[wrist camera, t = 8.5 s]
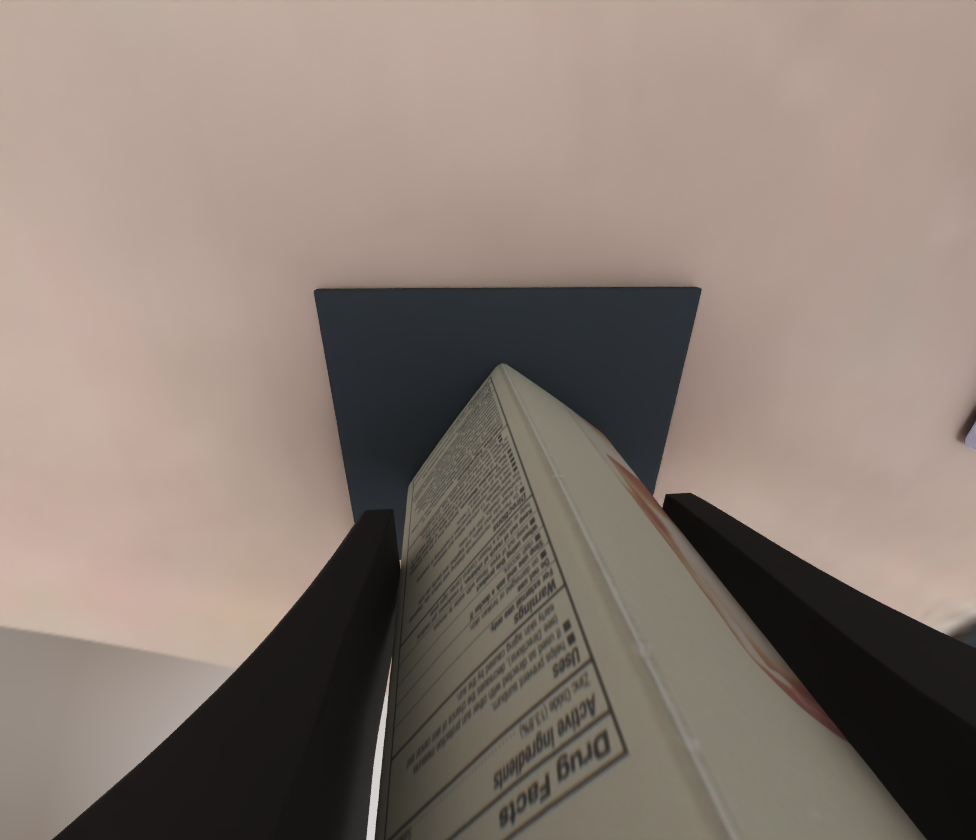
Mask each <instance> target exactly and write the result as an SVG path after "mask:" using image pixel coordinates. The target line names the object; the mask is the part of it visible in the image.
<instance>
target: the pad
mask: <svg viewBox="0 0 976 840" xmlns="http://www.w3.org/2000/svg"><path fill="white" fill-rule="evenodd" d="M701 290H702V289H701V288H698V287H576V288H389V289H316V290H315V291H314V296H315V301H316V307H317V313H318V318H319V324H320V330H321V335H322V341H323V347H324V352H325V358H326V364H327V369H328V375H329V381H330V386H331V392H332V398H333V403H334V409H335V415H336V420H337V426H338V432H339V437H340V443H341V449H342V454H343V460H344V466H345V471H346V477H347V483H348V488H349V494H350V500H351V506H352V511H353V517H354V523H356V521H357V520H358V518H359V517H360V515H361V514H362V513H363V512H364V511H365V510H380V509H393V511H394V519H395V528H396V536H397V544H398V553H399V560H401V559H402V547H403V537H404V526H405V517H406V506H407V494H408V487H409V485H410V483H411V482H412V480H413V479H414V477H415V476H416V474H417V473H418V471H419V470H420V468H421V467H422V465H423V464H424V463H425V461H426V460H427V458H428V457H429V455H430V454H431V453H432V451H433V450H434V449H435V447H436V446H437V444H438V443H439V441H440V440H441V439H442V437H443V436H444V435H445V433H446V432H447V430H448V429H449V428H450V426H451V425H452V424H453V422H454V421H455V420H456V418H457V417H458V416H459V414H460V413H461V412H462V410H463V409H464V408H465V406H466V405H467V404H468V402H469V401H470V400H471V398H472V397H473V396H474V394H475V393H476V392H477V391H478V389H479V388H480V387H481V385H482V384H483V383H484V382H485V380H486V379H487V378H488V376H489V375H490V374H491V372H492V371H493V370H494V369H495V367H497V366H498V365H499V364H502V363H504V364H507V365H508V366H510V367H511V368H513V369H514V370H516V371H517V372H519V373H520V374H522V375H523V376H525V377H526V378H527V379H529V380H530V381H532V382H533V383H535V384H536V385H538V386H539V387H540V388H542V389H543V390H545V391H546V392H548V393H549V394H550V395H552V396H553V397H555V398H556V399H557V400H559V401H560V402H562V403H563V404H564V405H566V406H567V407H569V408H570V409H571V410H573V411H574V412H575V413H577V414H578V415H579V416H581V417H582V418H583V419H585V420H586V421H587V422H589V423H590V424H591V425H593V426H594V427H595V428H597V429H598V430H599V431H600V432H602V433H603V434H604V435H605V437H606V438H607V439H608V440H609V442H610V443H611V444H612V445H613V447H614V448H615V449H616V451H617V452H618V453H619V454H620V456H621V457H622V458H623V459H624V461H625V462H626V463H627V464H628V466H629V467H630V468H631V469H632V471H633V472H634V473H635V475H636V476H637V477H638V478H639V480H640V481H641V482H642V483H643V485H644V486H645V487H646V488H647V490H648V491H649V492H650V493H651V495H652V496H653V493H654V489H655V485H656V481H657V476H658V472H659V468H660V464H661V460H662V455H663V451H664V447H665V443H666V438H667V434H668V430H669V426H670V421H671V417H672V413H673V409H674V405H675V400H676V396H677V392H678V388H679V383H680V379H681V375H682V371H683V367H684V362H685V358H686V354H687V350H688V345H689V341H690V337H691V333H692V329H693V324H694V320H695V316H696V312H697V307H698V303H699V299H700V295H701Z"/></svg>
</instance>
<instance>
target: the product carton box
mask: <svg viewBox="0 0 976 840" xmlns="http://www.w3.org/2000/svg"><path fill="white" fill-rule="evenodd" d="M375 840H927V839H926V838H925V837H924V836H923V834H922V833H921V832H920V831H919V829H918V828H917V827H916V826H915V824H914V823H913V822H912V820H911V819H910V818H909V817H908V815H907V814H906V813H905V812H904V810H903V809H902V808H901V807H900V805H899V804H898V803H897V802H896V800H895V799H894V798H893V797H892V795H891V794H890V793H889V792H888V790H887V789H886V788H885V786H884V785H883V784H882V783H881V781H880V780H879V779H878V778H877V776H876V775H875V774H874V772H873V771H872V770H871V769H870V767H869V766H868V765H867V764H866V763H865V761H864V760H863V759H862V758H861V756H860V755H859V754H858V753H857V751H856V750H855V749H854V748H853V746H852V745H851V744H850V743H849V742H848V740H847V739H846V738H845V736H844V735H843V734H842V733H841V731H840V730H839V729H838V728H837V726H836V725H835V724H834V723H833V721H832V720H831V719H830V718H829V716H828V715H827V714H826V713H825V711H824V710H823V709H822V708H821V706H820V705H819V704H818V703H817V701H816V700H815V699H814V698H813V696H812V695H811V694H810V693H809V691H808V690H807V689H806V687H805V686H804V685H803V684H802V682H801V681H800V680H799V679H798V677H797V676H796V675H795V674H794V672H793V671H792V670H791V669H790V667H789V666H788V665H787V664H786V662H785V661H784V660H783V658H782V657H781V656H780V655H779V653H778V652H777V651H776V650H775V648H774V647H773V646H772V645H771V643H770V642H769V641H768V640H767V638H766V637H765V636H764V635H763V633H762V632H761V631H760V630H759V628H758V627H757V626H756V625H755V623H754V622H753V621H752V620H751V618H750V617H749V616H748V614H747V613H746V612H745V611H744V609H743V608H742V607H741V606H740V605H739V603H738V602H737V601H736V600H735V598H734V597H733V596H732V595H731V593H730V592H729V591H728V590H727V588H726V587H725V586H724V585H723V583H722V582H721V581H720V579H719V578H718V577H717V576H716V574H715V573H714V572H713V571H712V569H711V568H710V567H709V566H708V564H707V563H706V562H705V561H704V559H703V558H702V557H701V556H700V555H699V553H698V552H697V551H696V550H695V548H694V547H693V546H692V545H691V543H690V542H689V541H688V540H687V538H686V537H685V536H684V534H683V533H682V532H681V531H680V530H679V528H678V527H677V526H676V525H675V523H674V522H673V521H672V520H671V519H670V517H669V516H668V515H667V514H666V513H665V511H664V510H663V509H662V508H661V506H660V505H659V504H658V502H657V501H656V500H655V499H654V497H653V496H652V495H651V493H650V492H649V491H648V490H647V488H646V487H645V486H644V485H643V483H642V482H641V481H640V480H639V478H638V477H637V476H636V475H635V473H634V472H633V471H632V469H631V468H630V467H629V466H628V464H627V463H626V462H625V461H624V459H623V458H622V457H621V456H620V454H619V453H618V452H617V451H616V449H615V448H614V447H613V445H612V444H611V443H610V442H609V440H608V439H607V438H606V437H605V435H604V434H603V433H602V432H600V431H599V430H598V429H597V428H595V427H594V426H593V425H591V424H590V423H589V422H587V421H586V420H585V419H583V418H582V417H581V416H579V415H578V414H577V413H575V412H574V411H573V410H571V409H570V408H569V407H567V406H566V405H564V404H563V403H562V402H560V401H559V400H557V399H556V398H555V397H553V396H552V395H550V394H549V393H548V392H546V391H545V390H543V389H542V388H540V387H539V386H538V385H536V384H535V383H533V382H532V381H530V380H529V379H527V378H526V377H525V376H523V375H522V374H520V373H519V372H517V371H516V370H514V369H513V368H511V367H510V366H508V365H507V364H504V363H502V364H499V365H498V366H497V367H495V369H494V370H493V371H492V372H491V374H490V375H489V376H488V378H487V379H486V380H485V382H484V383H483V384H482V385H481V387H480V388H479V389H478V391H477V392H476V393H475V394H474V396H473V397H472V398H471V400H470V401H469V402H468V404H467V405H466V406H465V408H464V409H463V410H462V412H461V413H460V414H459V416H458V417H457V418H456V420H455V421H454V422H453V424H452V425H451V426H450V428H449V429H448V430H447V432H446V433H445V435H444V436H443V437H442V439H441V440H440V441H439V443H438V444H437V446H436V447H435V449H434V450H433V451H432V453H431V454H430V455H429V457H428V458H427V460H426V461H425V463H424V464H423V465H422V467H421V468H420V470H419V471H418V473H417V474H416V476H415V477H414V479H413V480H412V482H411V483H410V485H409V487H408V494H407V506H406V517H405V526H404V537H403V547H402V559H401V570H400V581H399V590H398V599H397V612H396V623H395V633H394V642H393V652H392V664H391V673H390V683H389V696H388V708H387V718H386V728H385V739H384V747H383V758H382V769H381V778H380V789H379V801H378V810H377V819H376V830H375Z"/></svg>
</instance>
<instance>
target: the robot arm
mask: <svg viewBox="0 0 976 840" xmlns="http://www.w3.org/2000/svg"><path fill="white" fill-rule="evenodd" d="M965 445H966V446H967V447H968V448H970V449H972V450H974V451H976V422H975V423H974V425H973V427H972V428H971V430H970V431H969V433H968V435H967V437H966V439H965ZM662 509H663V510H664V511H665V513H666V514H667V515H668V516H669V517H670V519H671V520H672V521H673V522H674V523H675V525H676V526H677V527H678V528H679V530H680V531H681V532H682V533H683V534H684V536H685V537H686V538H687V540H688V541H689V542H690V543H691V545H692V546H693V547H694V548H695V550H696V551H697V552H698V553H699V555H700V556H701V557H702V558H703V559H704V561H705V562H706V563H707V564H708V566H709V567H710V568H711V569H712V571H713V572H714V573H715V574H716V576H717V577H718V578H719V579H720V581H721V582H722V583H723V585H724V586H725V587H726V588H727V590H728V591H729V592H730V593H731V595H732V596H733V597H734V598H735V600H736V601H737V602H738V603H739V605H740V606H741V607H742V608H743V609H744V611H745V612H746V613H747V614H748V616H749V617H750V618H751V620H752V621H753V622H754V623H755V625H756V626H757V627H758V628H759V630H760V631H761V632H762V633H763V635H764V636H765V637H766V638H767V640H768V641H769V642H770V643H771V645H772V646H773V647H774V648H775V650H776V651H777V652H778V653H779V655H780V656H781V657H782V658H783V660H784V661H785V662H786V664H787V665H788V666H789V667H790V669H791V670H792V671H793V672H794V674H795V675H796V676H797V677H798V679H799V680H800V681H801V682H802V684H803V685H804V686H805V687H806V689H807V690H808V691H809V693H810V694H811V695H812V696H813V698H814V699H815V700H816V701H817V703H818V704H819V705H820V706H821V708H822V709H823V710H824V711H825V713H826V714H827V715H828V716H829V718H830V719H831V720H832V721H833V723H834V724H835V725H836V726H837V728H838V729H839V730H840V731H841V733H842V734H843V735H844V736H845V738H846V739H847V740H848V742H849V743H850V744H851V745H852V746H853V748H854V749H855V750H856V751H857V753H858V754H859V755H860V756H861V758H862V759H863V760H864V761H865V763H866V764H867V765H868V766H869V767H870V769H871V770H872V771H873V772H874V774H875V775H876V776H877V778H878V779H879V780H880V781H881V783H882V784H883V785H884V786H885V788H886V789H887V790H888V792H889V793H890V794H891V795H892V797H893V798H894V799H895V800H896V802H897V803H898V804H899V805H900V807H901V808H902V809H903V810H904V812H905V813H906V814H907V815H908V817H909V818H910V819H911V820H912V822H913V823H914V824H915V826H916V827H917V828H918V829H919V831H920V832H921V833H922V834H923V836H924V837H925V838H926V839H927V840H976V648H974V647H972V646H970V645H967V644H965V643H963V642H961V641H959V640H956V639H954V638H952V637H950V636H948V635H946V634H944V633H941V632H939V631H937V630H935V629H933V628H931V627H929V626H927V625H925V624H923V623H921V622H919V621H917V620H915V619H913V618H911V617H909V616H907V615H905V614H902V613H900V612H898V611H896V610H894V609H892V608H890V607H888V606H886V605H884V604H882V603H880V602H878V601H877V600H875V599H873V598H871V597H869V596H867V595H865V594H863V593H861V592H859V591H858V590H856V589H854V588H852V587H850V586H848V585H847V584H845V583H843V582H841V581H839V580H838V579H836V578H834V577H832V576H830V575H829V574H827V573H825V572H823V571H821V570H820V569H818V568H816V567H814V566H813V565H811V564H809V563H808V562H806V561H804V560H802V559H801V558H799V557H797V556H796V555H794V554H792V553H791V552H789V551H787V550H785V549H784V548H782V547H780V546H779V545H777V544H776V543H774V542H772V541H771V540H769V539H767V538H766V537H764V536H762V535H761V534H759V533H757V532H756V531H754V530H753V529H751V528H749V527H748V526H746V525H744V524H743V523H741V522H740V521H738V520H736V519H735V518H733V517H731V516H730V515H728V514H727V513H725V512H723V511H722V510H720V509H718V508H717V507H715V506H713V505H712V504H710V503H708V502H706V501H705V500H703V499H701V498H699V497H697V496H696V495H694V494H692V493H680V494H666V496H665V500H664V504H663V508H662ZM399 581H400V561H399V553H398V544H397V536H396V528H395V519H394V511H393V509H380V510H365V511H364V512H363V513H362V514H361V515H360V517H359V518H358V520H357V521H356V523H355V524H354V526H353V527H352V529H351V530H350V532H349V533H348V535H347V536H346V537H345V539H344V540H343V542H342V543H341V545H340V546H339V547H338V549H337V550H336V552H335V553H334V554H333V556H332V557H331V559H330V560H329V561H328V562H327V564H326V565H325V566H324V568H323V569H322V570H321V572H320V573H319V574H318V576H317V577H316V578H315V580H314V581H313V582H312V584H311V585H310V586H309V587H308V589H307V590H306V591H305V592H304V594H303V595H302V596H301V597H300V599H299V600H298V601H297V602H296V603H295V604H294V606H293V607H292V608H291V609H290V610H289V612H288V613H287V614H286V615H285V616H284V618H283V619H282V620H281V621H280V622H279V624H278V625H277V626H276V627H275V628H274V629H273V631H272V632H271V633H270V634H269V635H268V636H267V637H266V638H265V640H264V641H263V642H262V643H261V644H260V645H259V646H258V647H257V648H256V650H255V651H254V652H253V653H252V654H251V655H250V656H249V657H248V658H247V659H246V660H245V661H244V662H243V663H242V664H241V666H240V667H239V668H238V669H237V670H236V671H235V672H234V673H233V674H232V675H231V676H230V677H229V678H228V679H227V680H226V681H225V682H224V683H223V684H222V685H221V686H220V687H219V688H218V689H217V690H216V691H215V692H214V693H213V694H212V695H211V696H210V697H209V698H208V699H207V700H206V701H205V702H204V703H203V704H202V705H201V706H200V707H199V708H198V709H197V710H196V711H195V712H194V713H193V714H192V715H191V716H190V717H189V718H188V719H186V720H185V722H183V723H182V724H181V725H180V726H179V727H178V728H177V729H176V730H175V731H174V732H173V733H172V734H171V735H170V736H169V737H168V738H167V739H166V740H164V741H163V742H162V743H161V744H160V745H159V746H158V747H157V748H156V749H155V750H154V751H153V752H151V753H150V754H149V755H148V756H147V757H146V758H145V759H144V760H143V761H142V762H141V763H139V764H138V765H137V766H136V767H135V768H134V769H133V770H131V771H130V772H129V773H128V774H127V775H126V776H124V777H123V778H122V779H121V780H120V781H119V782H118V783H116V784H115V785H114V786H113V787H112V788H111V789H110V790H108V791H107V792H106V793H105V794H104V795H103V796H102V797H100V798H99V799H98V800H97V801H96V802H95V803H94V804H92V805H91V806H90V807H89V808H88V809H87V810H86V811H84V812H83V813H82V814H81V815H80V816H79V817H78V818H76V819H75V820H74V821H73V822H72V823H71V824H69V825H68V826H67V827H66V828H65V829H64V830H63V831H61V832H60V833H59V834H58V835H57V836H56V837H54V838H53V839H52V840H366V836H367V825H368V815H369V805H370V795H371V784H372V775H373V764H374V757H375V750H376V743H377V735H378V731H379V725H380V719H381V713H382V708H383V702H384V697H385V692H386V686H387V680H388V675H389V669H390V664H391V658H392V652H393V642H394V633H395V623H396V612H397V599H398V590H399Z"/></svg>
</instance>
